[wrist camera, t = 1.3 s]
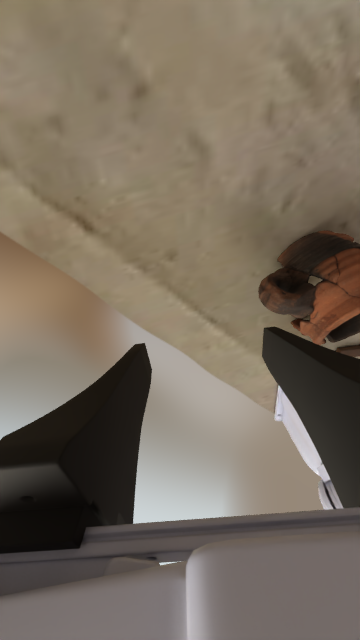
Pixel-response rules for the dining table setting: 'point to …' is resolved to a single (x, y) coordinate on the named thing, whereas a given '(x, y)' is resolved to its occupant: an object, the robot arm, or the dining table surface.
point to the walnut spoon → (350, 350)
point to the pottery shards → (318, 286)
